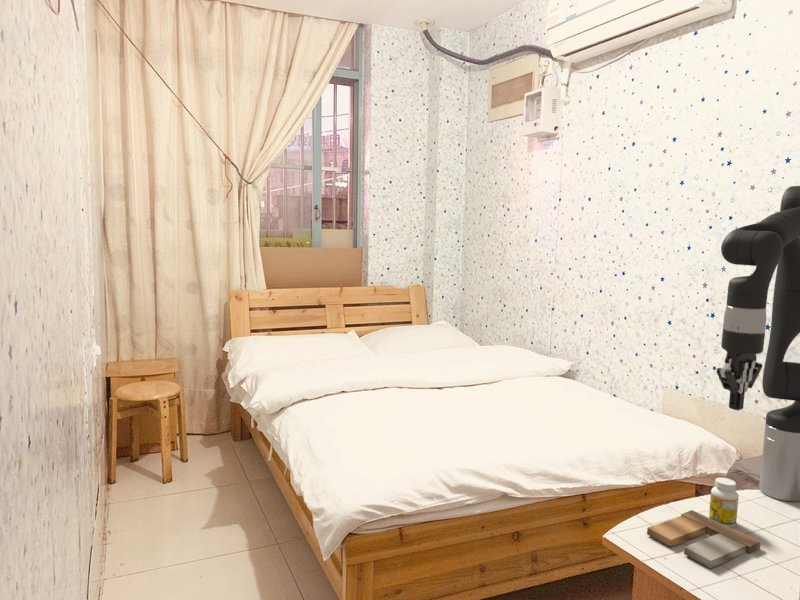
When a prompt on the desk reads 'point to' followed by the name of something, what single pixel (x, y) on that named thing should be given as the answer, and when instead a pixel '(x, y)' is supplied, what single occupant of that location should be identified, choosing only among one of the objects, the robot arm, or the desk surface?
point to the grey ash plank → (714, 550)
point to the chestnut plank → (676, 530)
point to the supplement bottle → (724, 502)
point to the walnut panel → (723, 530)
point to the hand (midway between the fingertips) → (735, 408)
